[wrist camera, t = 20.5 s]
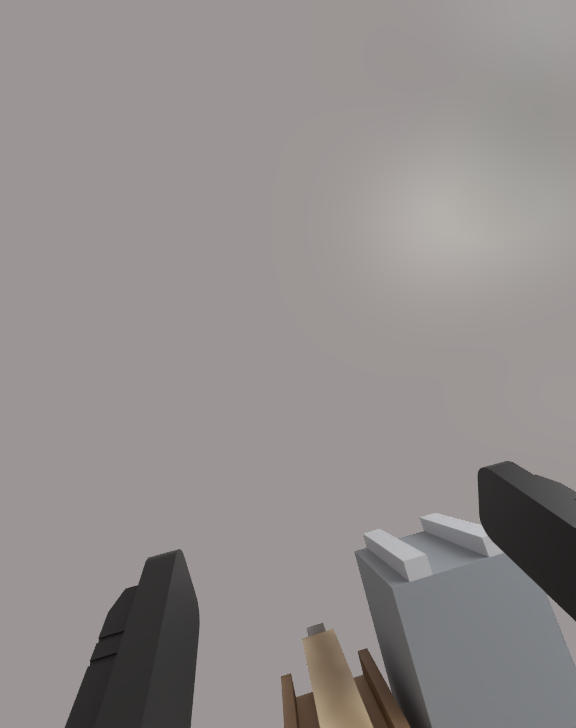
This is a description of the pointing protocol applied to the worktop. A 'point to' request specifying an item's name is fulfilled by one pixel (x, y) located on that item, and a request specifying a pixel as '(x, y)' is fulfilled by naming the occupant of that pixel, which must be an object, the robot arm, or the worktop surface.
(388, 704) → the block
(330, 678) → the bar
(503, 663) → the slot column
